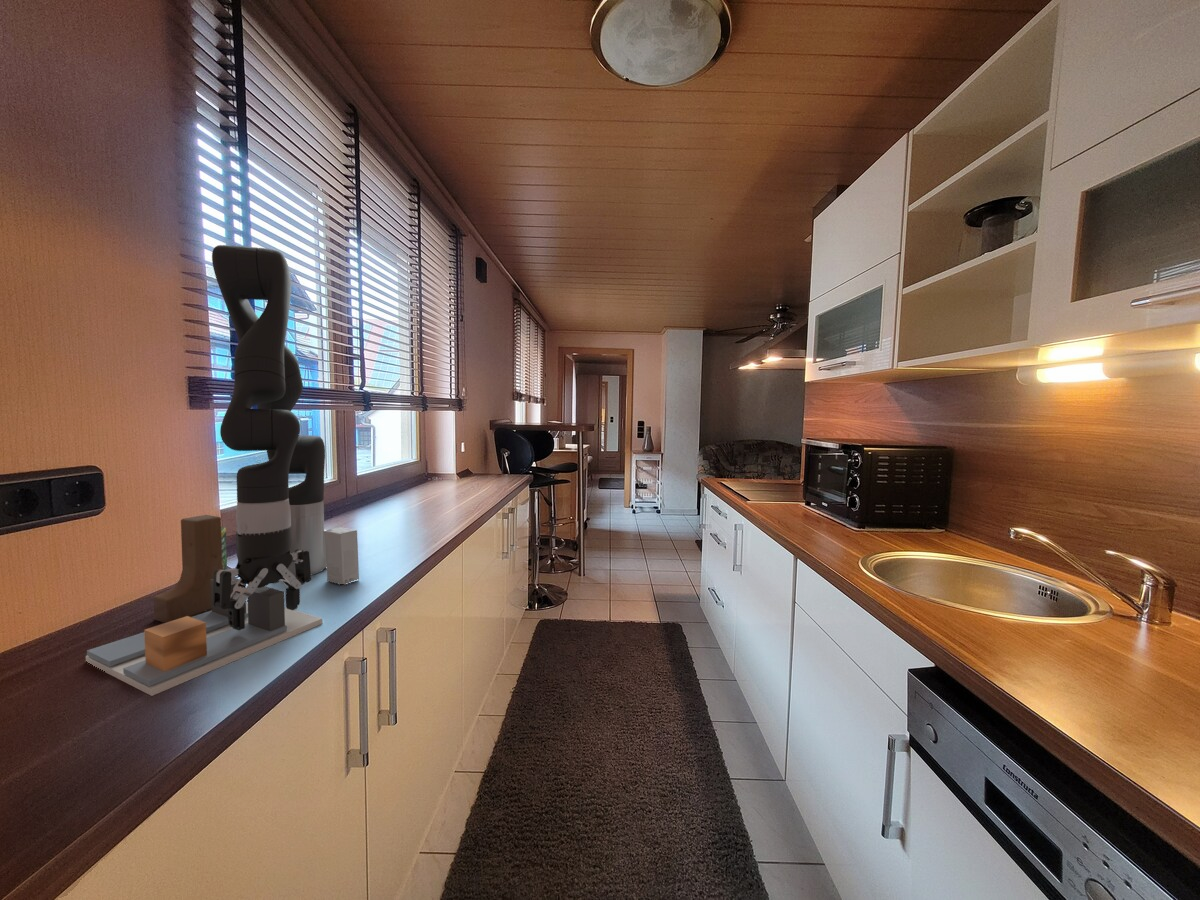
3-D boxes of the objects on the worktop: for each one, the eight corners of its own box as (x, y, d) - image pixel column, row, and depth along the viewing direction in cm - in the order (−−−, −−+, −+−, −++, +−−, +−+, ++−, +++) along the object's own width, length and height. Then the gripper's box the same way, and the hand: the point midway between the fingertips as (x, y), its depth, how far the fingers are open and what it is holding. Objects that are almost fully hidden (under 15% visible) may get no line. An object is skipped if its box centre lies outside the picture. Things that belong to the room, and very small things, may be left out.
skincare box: (360, 580, 104) (359, 529, 103) (341, 586, 100) (340, 533, 99) (343, 575, 107) (342, 526, 106) (324, 581, 103) (323, 529, 102)
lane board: (258, 604, 90) (258, 599, 90) (322, 623, 83) (322, 618, 82) (86, 662, 68) (85, 656, 68) (151, 696, 60) (151, 688, 60)
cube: (188, 647, 69) (187, 615, 69) (206, 654, 67) (205, 622, 67) (145, 663, 65) (144, 629, 64) (164, 671, 63) (162, 637, 62)
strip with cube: (261, 622, 80) (260, 585, 79) (286, 630, 77) (286, 592, 77) (123, 673, 63) (121, 627, 63) (149, 686, 61) (147, 638, 60)
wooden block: (167, 624, 80) (164, 526, 79) (152, 620, 82) (149, 523, 81) (224, 605, 89) (221, 516, 88) (209, 601, 90) (207, 514, 89)
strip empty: (225, 610, 84) (224, 574, 84) (247, 617, 81) (247, 581, 81) (87, 655, 68) (84, 611, 67) (109, 666, 65) (107, 621, 64)
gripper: (292, 515, 84) (294, 599, 85) (201, 532, 71) (204, 631, 72) (319, 520, 81) (320, 607, 82) (229, 538, 68) (231, 641, 69)
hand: (266, 618), depth 77 cm, fingers open, 8 cm apart
